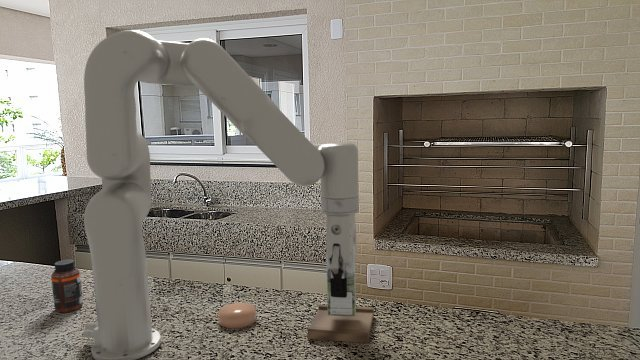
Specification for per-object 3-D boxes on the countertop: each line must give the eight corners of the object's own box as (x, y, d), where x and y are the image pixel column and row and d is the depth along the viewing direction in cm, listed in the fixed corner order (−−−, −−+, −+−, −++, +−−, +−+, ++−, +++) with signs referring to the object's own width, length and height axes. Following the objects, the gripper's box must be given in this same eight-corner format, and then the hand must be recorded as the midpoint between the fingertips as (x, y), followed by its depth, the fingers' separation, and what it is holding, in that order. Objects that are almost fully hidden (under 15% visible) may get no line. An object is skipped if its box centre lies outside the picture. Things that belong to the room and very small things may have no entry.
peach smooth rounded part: (212, 327, 102) (211, 316, 102) (229, 311, 110) (229, 301, 110) (246, 331, 100) (246, 319, 100) (262, 314, 108) (261, 304, 107)
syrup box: (356, 305, 103) (355, 239, 100) (355, 317, 97) (354, 247, 95) (329, 304, 103) (328, 239, 101) (327, 316, 97) (325, 247, 95)
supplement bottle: (89, 304, 115) (84, 259, 113) (67, 315, 110) (62, 267, 108) (70, 301, 117) (65, 256, 116) (48, 311, 112) (43, 264, 110)
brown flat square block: (307, 338, 96) (307, 328, 96) (319, 313, 107) (319, 304, 107) (368, 343, 93) (367, 333, 93) (373, 316, 105) (373, 307, 105)
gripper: (352, 214, 87) (354, 308, 90) (363, 196, 104) (364, 276, 107) (312, 213, 89) (315, 306, 92) (329, 196, 106) (331, 275, 108)
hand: (341, 289), depth 99 cm, fingers closed on syrup box, 6 cm apart
